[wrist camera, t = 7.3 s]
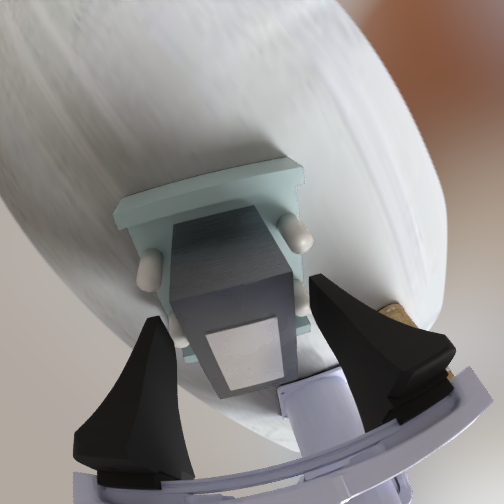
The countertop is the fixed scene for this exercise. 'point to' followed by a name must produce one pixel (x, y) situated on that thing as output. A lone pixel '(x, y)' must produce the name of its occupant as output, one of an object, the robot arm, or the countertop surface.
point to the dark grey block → (234, 300)
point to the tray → (208, 203)
